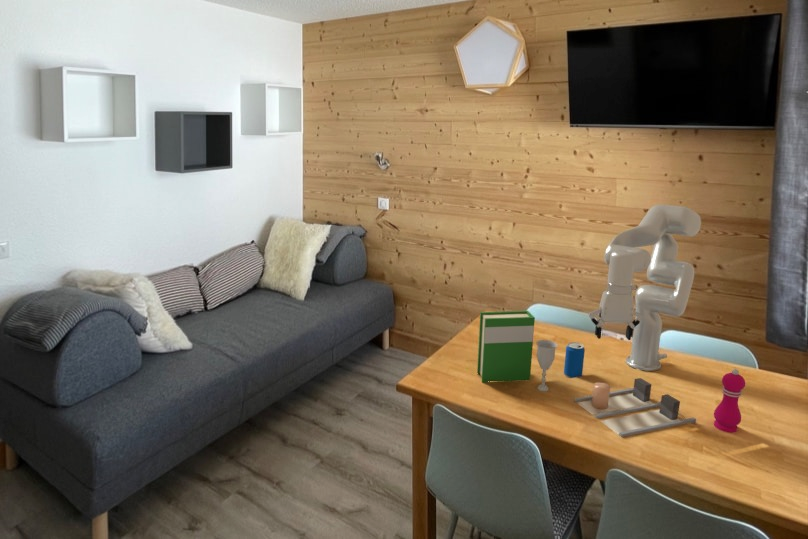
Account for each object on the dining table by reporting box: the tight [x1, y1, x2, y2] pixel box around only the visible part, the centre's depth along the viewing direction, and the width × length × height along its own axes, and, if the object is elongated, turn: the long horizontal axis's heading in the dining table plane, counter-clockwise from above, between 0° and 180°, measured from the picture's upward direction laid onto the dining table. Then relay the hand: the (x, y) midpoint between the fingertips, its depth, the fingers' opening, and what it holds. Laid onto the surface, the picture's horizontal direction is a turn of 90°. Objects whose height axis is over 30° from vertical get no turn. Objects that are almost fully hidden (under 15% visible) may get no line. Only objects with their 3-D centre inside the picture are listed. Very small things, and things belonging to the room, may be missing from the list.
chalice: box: [536, 339, 558, 392], centre depth 189 cm, size 7×7×18 cm
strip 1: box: [576, 377, 653, 416], centre depth 181 cm, size 24×8×7 cm, turn 109°
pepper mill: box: [713, 368, 746, 434], centre depth 166 cm, size 7×7×20 cm
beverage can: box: [563, 341, 586, 379], centre depth 202 cm, size 6×6×12 cm
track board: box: [573, 387, 697, 438], centre depth 177 cm, size 28×24×2 cm
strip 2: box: [600, 393, 681, 436], centre depth 170 cm, size 24×8×7 cm, turn 109°
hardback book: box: [476, 310, 536, 383], centre depth 199 cm, size 18×7×24 cm, turn 97°
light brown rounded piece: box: [591, 382, 611, 410], centre depth 179 cm, size 5×5×7 cm
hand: (613, 337), depth 184 cm, fingers open, 9 cm apart
